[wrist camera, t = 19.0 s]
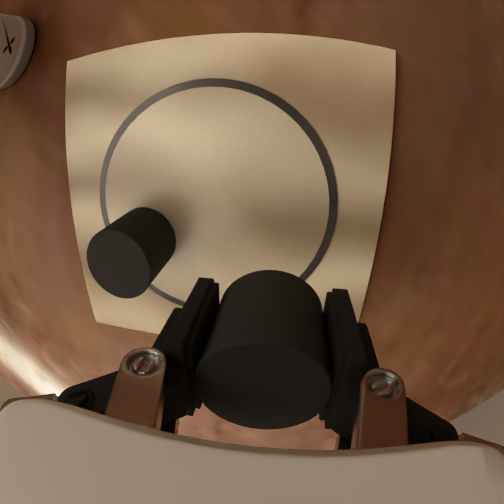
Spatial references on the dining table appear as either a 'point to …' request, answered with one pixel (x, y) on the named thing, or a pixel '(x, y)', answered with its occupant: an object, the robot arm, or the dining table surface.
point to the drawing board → (233, 159)
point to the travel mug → (14, 47)
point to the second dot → (266, 353)
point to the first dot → (131, 252)
